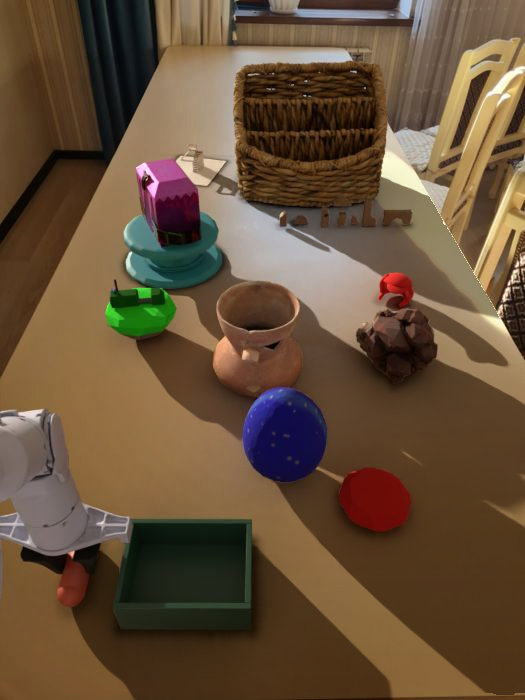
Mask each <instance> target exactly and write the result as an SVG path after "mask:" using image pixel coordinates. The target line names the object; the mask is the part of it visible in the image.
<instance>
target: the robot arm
mask: <svg viewBox="0 0 525 700" xmlns="http://www.w3.org/2000/svg"><path fill="white" fill-rule="evenodd" d="M69 465H70V455H69V450H68V448H67V444H66V437H65V431H64V426H63V423H62V419H61V415H60V414H59V413H57V412H53V414H52V413H51V412H49V409H48V408H41V409H34V410H27V411H18V410H17V409H8V410H2V411H0V504H1V503H3V502H5V501H7V500H10V502H11V504H12V506H13V508H14V510H15V512H14V513H10V514H5V515H4V514H3V515H0V603H1V602H2V601H1V600H2V594H3V585H4V558H3V550H2V542H3V541H4V540H6V541H9V542H11V543H14V544H16V545H19V546H22V547H21V551H20V559H21V560H22V562H24V563H34V564H38V565H41V566H43V567H45V568H47V569H48V570H50V571H52V572H53V573H55V574H57V575H62V573H63V569H64V566H65V562H66V558H67V555H68V553H69V552H72V551H75V552H74V555H73V559H72V561H73V562H78V563H80V564H81V565H82V566H83V568H84V570H85V572H86V573H87V574H90V575H95V574H96V571H97V566H98V563H99V554H100V550H101V546H102V545H101V544H102V543H104V542H107V541H110V540H114V539H118V540H119V542H120V543H121V544H125V543H130V539H131V534H132V529H133V525H132V521H131V519H132V517H131V516H122V515H118V514H115V513H111V512H108V511H106V510H103V509H100V508H97V507H94V506H91V505H89V504H85V503H83V501H82V498H81V496H80V493H79V491H78V487H77V485H76V483H75V480H74V478H73V475H72V473H71V470H70V467H69Z"/></svg>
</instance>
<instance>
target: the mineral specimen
mask: <svg viewBox="0 0 525 700" xmlns="http://www.w3.org/2000/svg"><path fill="white" fill-rule="evenodd" d="M429 322H430V317H428V316H427V315H426V314H425V313H424V312H423V311H422V310H421V309H418V308H413V309H412V308H409V307H405V308H399V309H398V310H391V309H389V308H381V309H380V310H378V311H377V312H375V314H374V317H373V322H368V321H367V322H363V323H362V325H361V326H360V327H359V328H357V330H356V333H355V337H356V342H357V343H358V344H359V348H360V349H361V350H362V351H363V353H366V356H367V358H368V359H369V361H371V365H372V366H373V367H374V368H375V369H376V370H377V371H378V372H381V373H383V375H384V376H387V377H388V379H389V380H390V382H391V383H392V384H398V383H400V382H401V383H402V382H403V381H404V379H405V377H406V376H409V375H418V374H419V372H423V371H424V369H425V368H427V367H428V366H429V365H431V364H433V360H434V359H437V356H438V345H439V344H438V343H436V342H435V330H434V329H433V327H432V325H430V323H429Z"/></svg>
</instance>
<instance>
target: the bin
mask: <svg viewBox="0 0 525 700" xmlns="http://www.w3.org/2000/svg"><path fill="white" fill-rule="evenodd" d="M131 521H132V525H133V529H132V534H131V539H130V543H124V548H123V552H122V557H121V562H120V567H119V571H118V577H117V583H116V587H115V592H114V597H113V603H112V607H111V608H112V609H111V610H112V611H113V613H114V616H115V618H116V620H117V623H118V625H119V628H120V630H246V631H247V630H252V590H253V589H252V583H253V582H252V581H253V580H252V579H253V578H252V577H253V575H252V574H253V519H252V518H131Z"/></svg>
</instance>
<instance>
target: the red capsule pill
mask: <svg viewBox="0 0 525 700" xmlns="http://www.w3.org/2000/svg"><path fill="white" fill-rule="evenodd" d="M74 552H75V551H72V552H69V553H67V554H68V555H67V558H66V562H65V566H64V569H63V573H62V574H61V576H60V579H59V583H58V587H57V592H56V596H57V600H58V602H59V603H60V604H61V606H64V607H67V608H72V607H76V606H78V605H79V604H80V603H81V602H82V601H83V600H84V598H85V596H86V592H87V589H88V588H87V587H88V584H89V579H90V575H91V574H87V573H86V572H85V570H84V568H83V566H82V565H81V564H80V563H78V562H73V561H72V559H73V555H74Z"/></svg>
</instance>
